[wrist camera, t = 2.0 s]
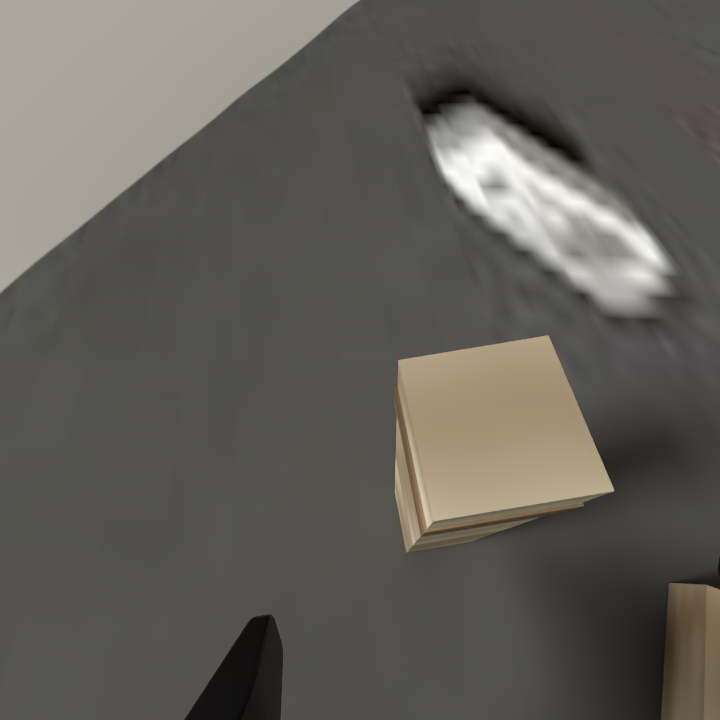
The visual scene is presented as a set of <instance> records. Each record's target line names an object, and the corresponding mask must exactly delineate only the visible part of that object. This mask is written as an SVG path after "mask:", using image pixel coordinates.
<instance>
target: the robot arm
mask: <svg viewBox="0 0 720 720" xmlns="http://www.w3.org/2000/svg"><path fill="white" fill-rule="evenodd" d="M718 574H719V576H720V558H719V564H718ZM282 669H283V648H282V642H281V639H280V636H279V632H278V629H277V625H276V622H275V619H274V617H273V616H272V615H269V614H268V615H262V616H256V617H253V618H252V619H250V621H249V622H248V623H247V625H246V626H245V628H244V629H243V631H242V633H241V634H240V636H239V637H238V639H237V640H236V642H235V643H234V645H233V646H232V648H231V649H230V651H229V652H228V654H227V655H226V657H225V659H224V660H223V662H222V663H221V665H220V666H219V668H218V669H217V671H216V672H215V674H214V675H213V677H212V678H211V680H210V681H209V683H208V684H207V686H206V688H205V689H204V691H203V692H202V694H201V695H200V697H199V698H198V700H197V701H196V703H195V704H194V706H193V707H192V709H191V710H190V712H189V714H188V715H187V717H186V718H185V720H280V718H281V694H282Z"/></svg>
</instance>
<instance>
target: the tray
mask: <svg viewBox="0 0 720 720" xmlns="http://www.w3.org/2000/svg"><path fill="white" fill-rule="evenodd" d="M661 720H720V590H719V589H716V588H714V587H711V586H709V585H700V584H681V583H669V586H668V603H667V621H666V638H665V655H664V673H663V690H662V708H661Z"/></svg>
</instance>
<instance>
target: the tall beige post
mask: <svg viewBox="0 0 720 720" xmlns="http://www.w3.org/2000/svg"><path fill="white" fill-rule="evenodd" d="M395 409H396V414H397V433H396V469H395V494H396V500H397V505H398V511H399V516H400V522H401V527H402V533H403V538H404V544H405V549H406V553H411V552H417V551H423V550H429V549H435V548H441V547H447V546H453V545H459V544H465V543H468V542H471V541H474V540H477V539H480V538H483V537H485V536H488V535H491V534H494V533H497V532H500V531H503V530H505V529H508V528H511V527H514V526H517V525H520V524H523V523H525V522H528V521H531V520H534V519H537V518H540V517H542V516H548V515H554V514H560V513H564V512H567V511H570V510H573V509H576V508H579V507H582V506H584V504H583V502H585V501H588V500H591V499H594V498H597V497H599V496H602V495H605V494H608V493H611V492H614V488H613V486H612V483H611V481H610V479H609V476H608V474H607V472H606V469H605V467H604V465H603V462H602V460H601V458H600V455H599V453H598V451H597V448H596V446H595V444H594V441H593V439H592V437H591V434H590V432H589V430H588V427H587V425H586V423H585V420H584V418H583V415H582V413H581V411H580V408H579V406H578V404H577V401H576V399H575V397H574V394H573V392H572V390H571V387H570V385H569V383H568V380H567V378H566V376H565V373H564V371H563V369H562V366H561V364H560V362H559V359H558V357H557V354H556V352H555V350H554V347H553V345H552V343H551V340H550V338H549V336H542V337H536V338H530V339H524V340H518V341H512V342H506V343H500V344H494V345H488V346H482V347H476V348H470V349H464V350H458V351H451V352H445V353H439V354H433V355H427V356H421V357H415V358H409V359H403V360H399V361H398V386H395Z"/></svg>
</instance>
